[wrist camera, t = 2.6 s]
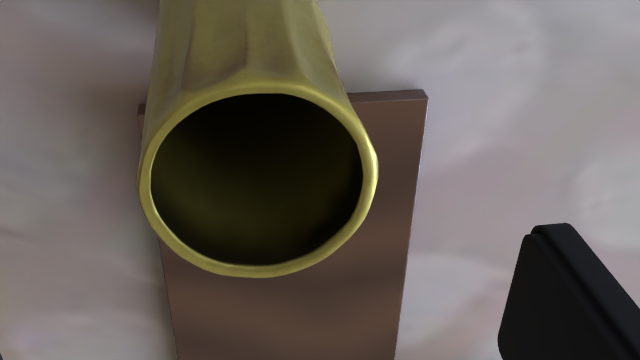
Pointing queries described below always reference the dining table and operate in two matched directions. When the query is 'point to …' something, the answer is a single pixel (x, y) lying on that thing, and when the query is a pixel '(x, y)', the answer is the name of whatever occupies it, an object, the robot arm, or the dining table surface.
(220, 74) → the vase
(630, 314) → the robot arm
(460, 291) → the dining table surface
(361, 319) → the serving board
